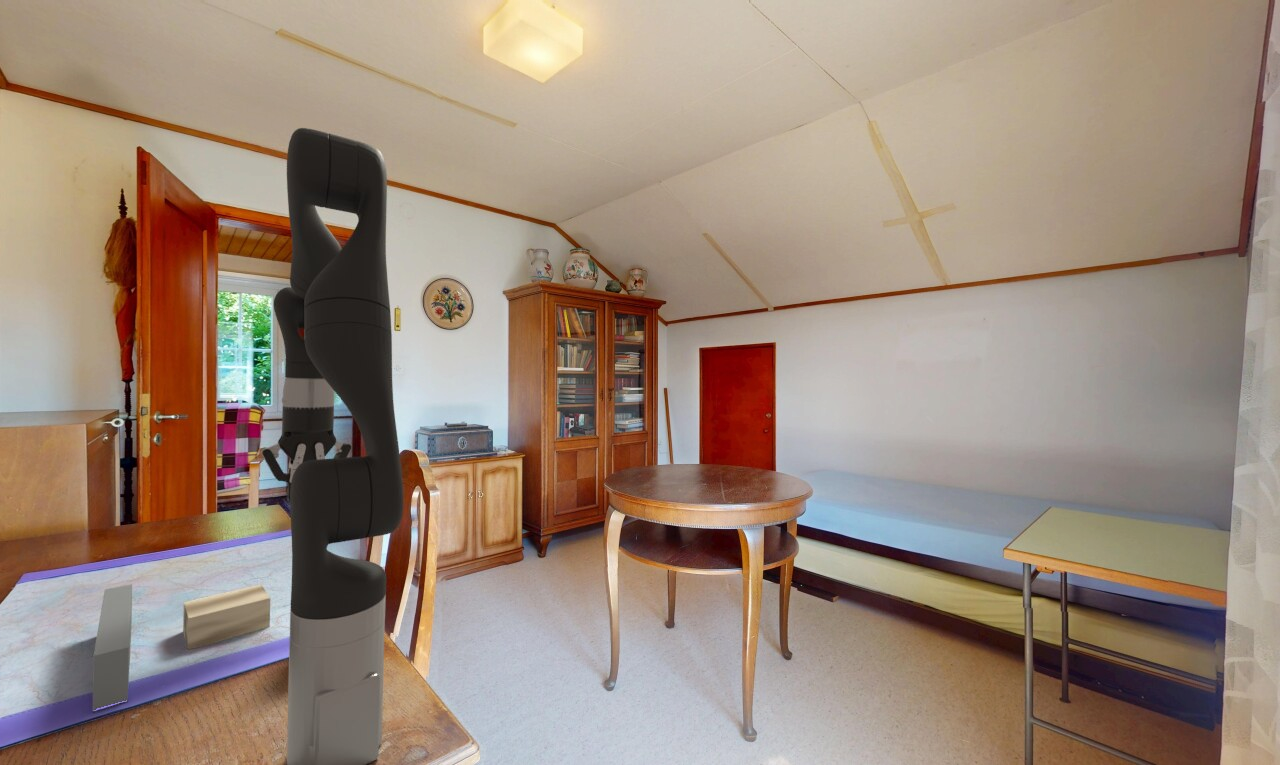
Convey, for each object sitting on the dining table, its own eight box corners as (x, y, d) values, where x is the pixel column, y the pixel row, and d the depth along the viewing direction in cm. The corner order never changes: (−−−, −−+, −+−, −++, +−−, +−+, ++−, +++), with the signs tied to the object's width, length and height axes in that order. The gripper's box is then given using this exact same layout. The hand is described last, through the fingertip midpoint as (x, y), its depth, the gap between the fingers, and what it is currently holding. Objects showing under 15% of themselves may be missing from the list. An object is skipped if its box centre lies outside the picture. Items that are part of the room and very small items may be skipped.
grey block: (127, 701, 63) (128, 647, 63) (92, 712, 61) (93, 655, 61) (131, 627, 80) (132, 584, 80) (104, 633, 78) (104, 589, 78)
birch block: (269, 628, 82) (270, 598, 82) (187, 651, 75) (188, 618, 75) (260, 612, 87) (261, 584, 87) (183, 633, 80) (183, 602, 80)
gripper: (262, 406, 80) (260, 514, 80) (359, 404, 90) (357, 500, 90) (255, 403, 85) (253, 503, 86) (347, 401, 95) (345, 492, 96)
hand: (306, 501), depth 88 cm, fingers open, 3 cm apart
